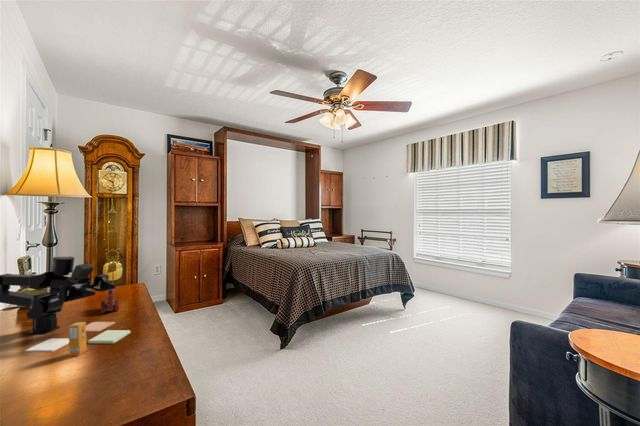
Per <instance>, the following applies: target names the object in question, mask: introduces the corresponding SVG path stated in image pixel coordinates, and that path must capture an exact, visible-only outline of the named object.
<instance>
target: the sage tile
mask: <svg viewBox="0 0 640 426" xmlns="http://www.w3.org/2000/svg"><path fill="white" fill-rule="evenodd" d="M129 334H131V330H129V329H127V330H126V329H123V330H121V329H120V330H119V329H117V330H116V329H115V330H114V329H107V330H105V331H103V332H101V333H99V334H98V335H95V336H94V337H92V338H90V339H88V341H87V343H88V344H116V342H118V341H120V340H122V339H123V338H125V337H126V336H129Z"/></svg>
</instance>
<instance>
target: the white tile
mask: <svg viewBox="0 0 640 426" xmlns="http://www.w3.org/2000/svg"><path fill="white" fill-rule="evenodd" d="M66 345H69V337H68V338H67V337H66V338H60V337H59V338H54V337H53V338H51V337H50V338H49V339H46V340H44V341H42V342H40V343H38V344H36V345H34V346H31V347H29V348H27V349H25V352H45V353H46V352H47V353H49V352H51V353H52V352H55V351H56V350H59V349H60V348H62V347H65V346H66Z"/></svg>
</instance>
